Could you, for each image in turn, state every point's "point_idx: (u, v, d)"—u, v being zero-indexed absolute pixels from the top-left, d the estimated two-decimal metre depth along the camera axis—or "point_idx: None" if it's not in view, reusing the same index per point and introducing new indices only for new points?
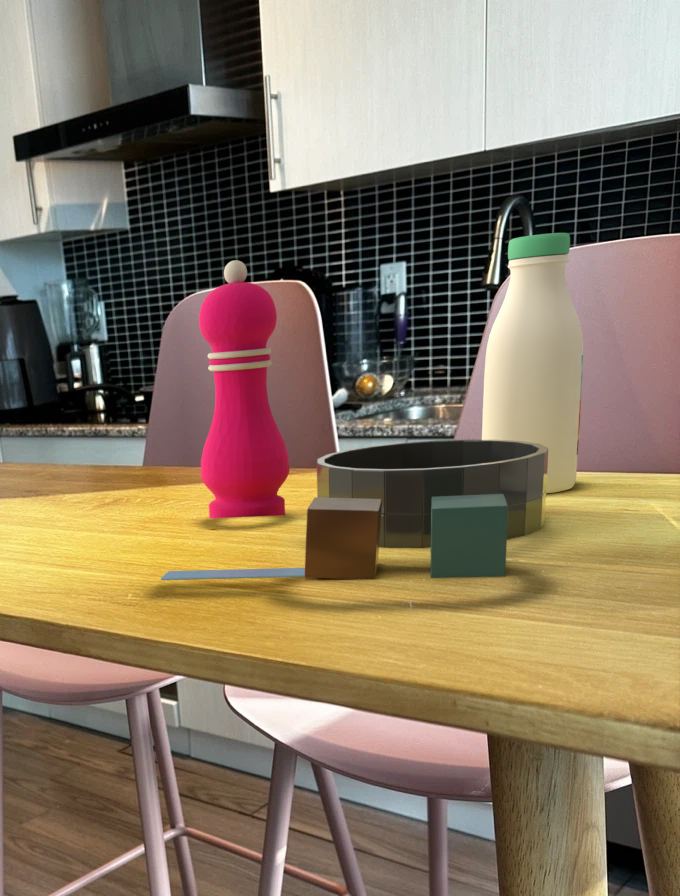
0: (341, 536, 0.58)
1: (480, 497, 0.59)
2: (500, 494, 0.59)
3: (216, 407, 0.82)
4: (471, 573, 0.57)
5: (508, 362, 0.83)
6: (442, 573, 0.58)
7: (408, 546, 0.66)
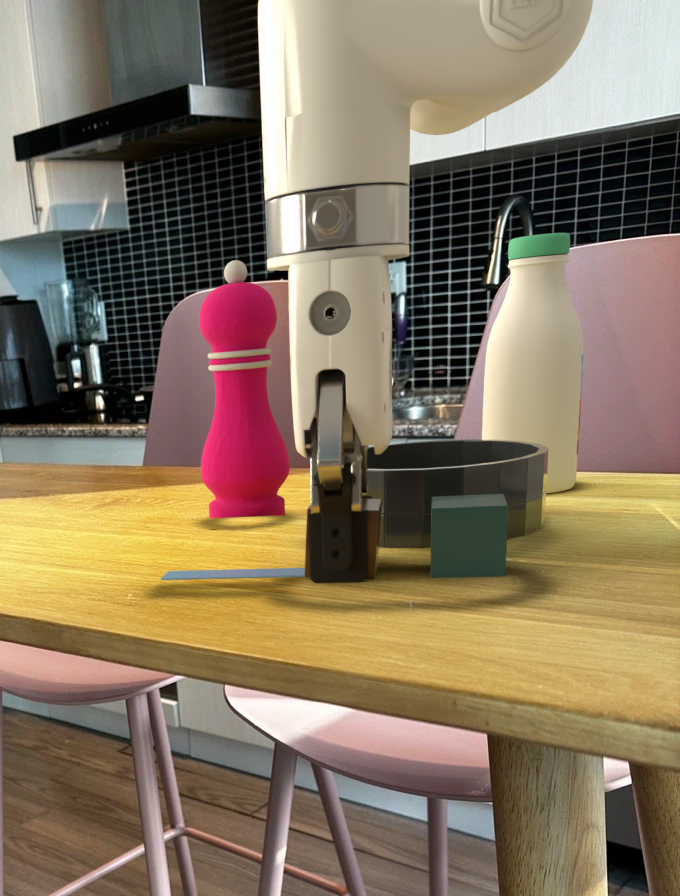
0: None
1: (480, 497, 0.59)
2: (500, 494, 0.59)
3: (216, 407, 0.82)
4: (471, 573, 0.57)
5: (508, 362, 0.83)
6: (442, 573, 0.58)
7: (408, 546, 0.66)
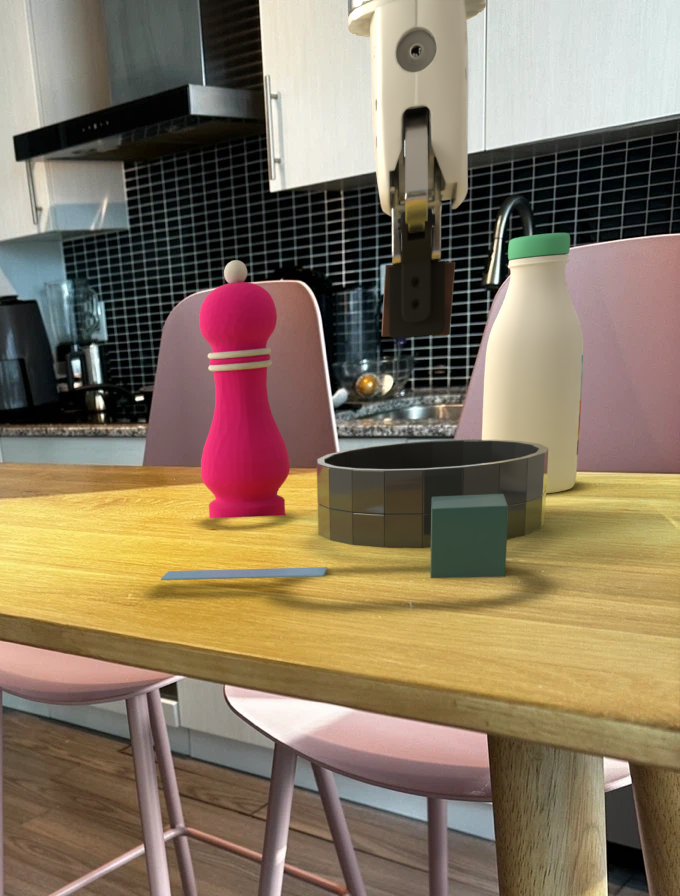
0: None
1: (480, 497, 0.59)
2: (500, 494, 0.59)
3: (216, 407, 0.82)
4: (471, 573, 0.57)
5: (508, 362, 0.83)
6: (442, 573, 0.58)
7: (408, 546, 0.66)
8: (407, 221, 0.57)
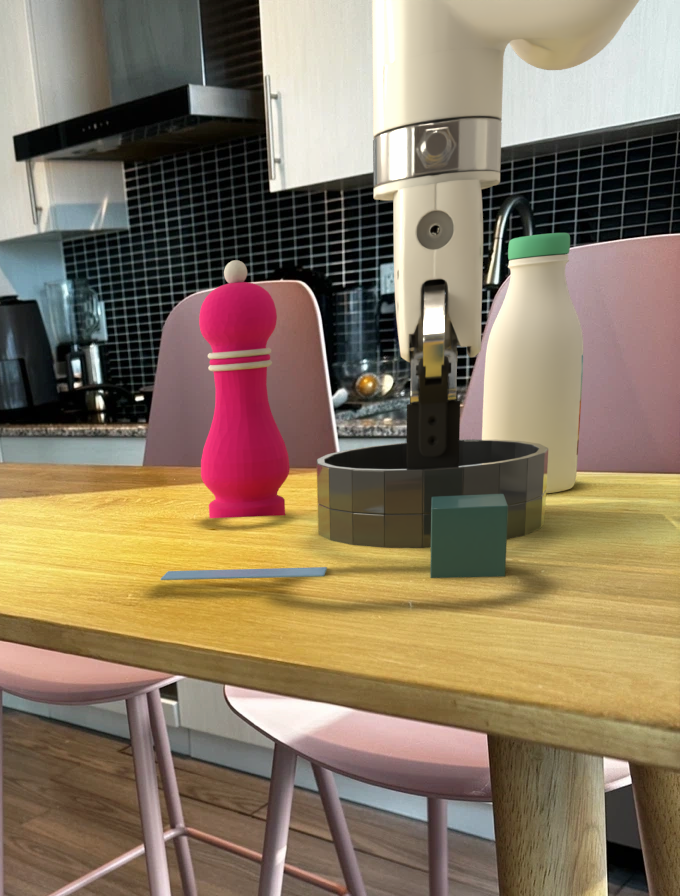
0: None
1: (480, 497, 0.59)
2: (500, 494, 0.59)
3: (216, 407, 0.82)
4: (471, 573, 0.57)
5: (508, 362, 0.83)
6: (442, 573, 0.58)
7: (408, 546, 0.66)
8: (425, 364, 0.60)
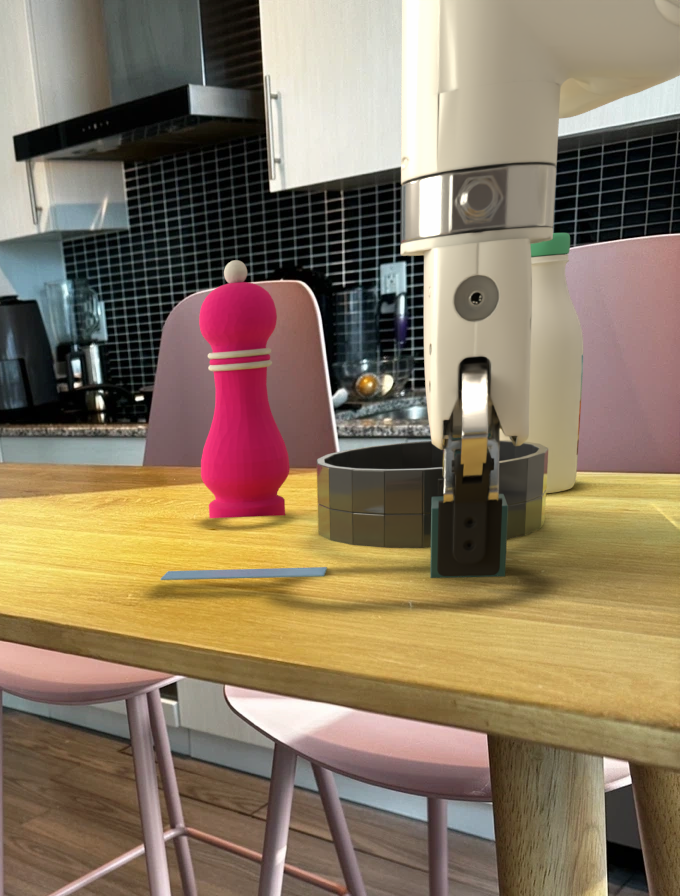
0: None
1: None
2: (500, 494, 0.59)
3: (216, 407, 0.82)
4: None
5: None
6: None
7: (408, 546, 0.66)
8: (463, 461, 0.51)
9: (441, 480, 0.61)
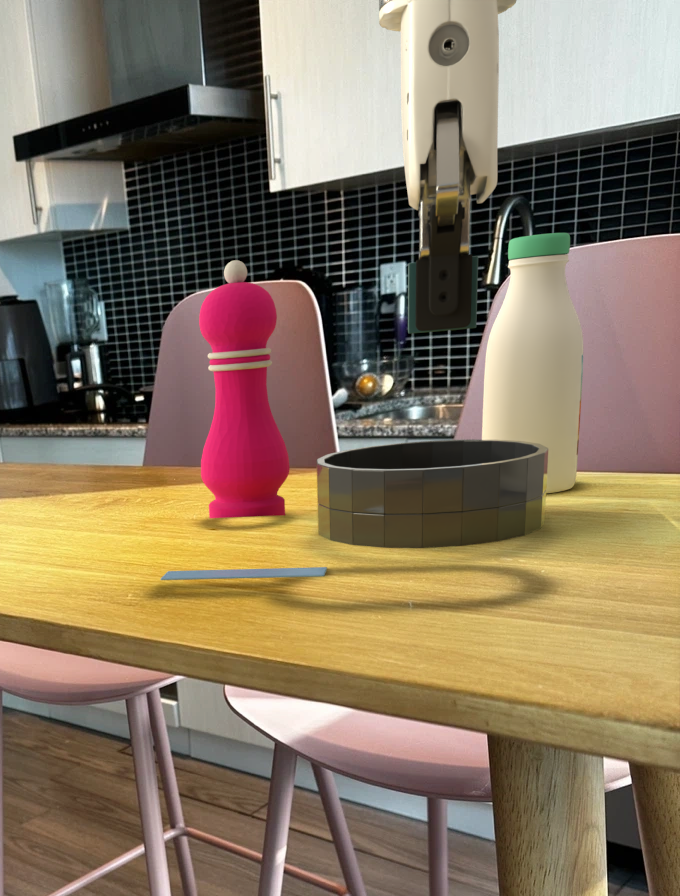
0: None
1: None
2: None
3: (216, 407, 0.82)
4: None
5: (508, 362, 0.83)
6: None
7: (408, 546, 0.66)
8: (437, 214, 0.57)
9: None
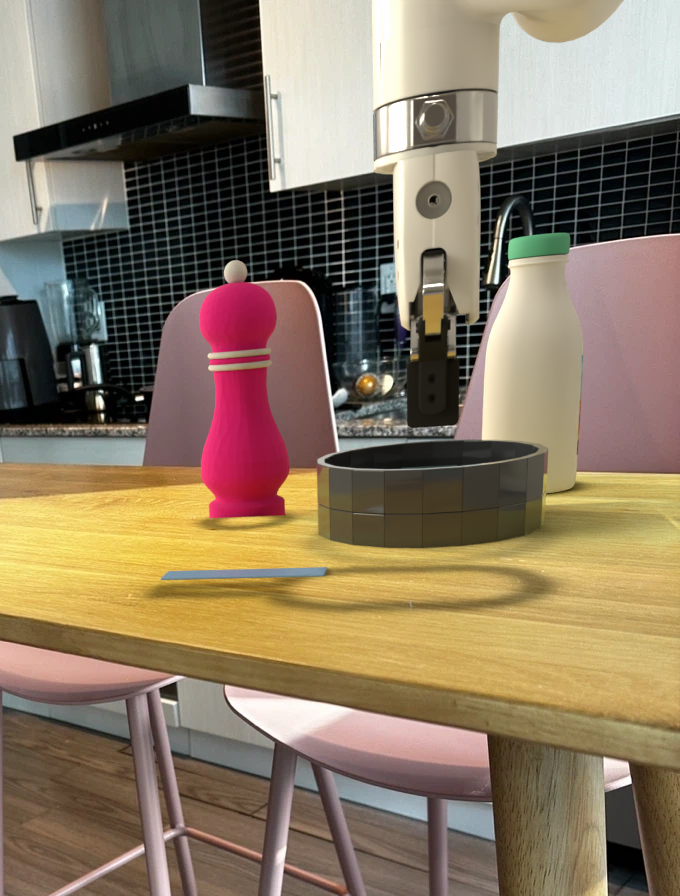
0: None
1: None
2: None
3: (216, 407, 0.82)
4: None
5: (508, 362, 0.83)
6: None
7: (408, 546, 0.66)
8: (424, 317, 0.61)
9: None
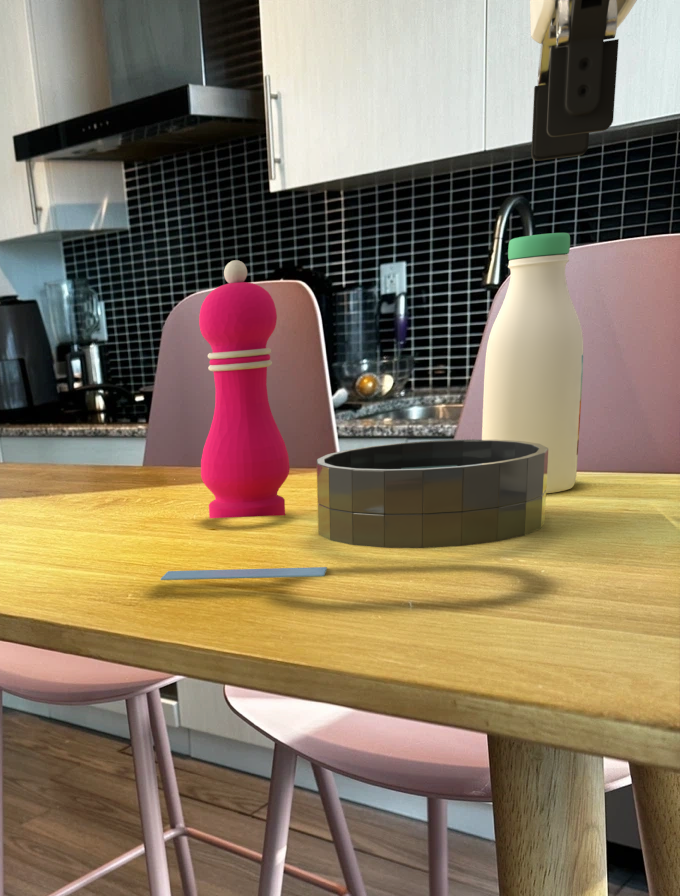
0: None
1: None
2: None
3: (216, 407, 0.82)
4: None
5: (508, 362, 0.83)
6: None
7: (408, 546, 0.66)
8: None
9: (538, 86, 0.62)
